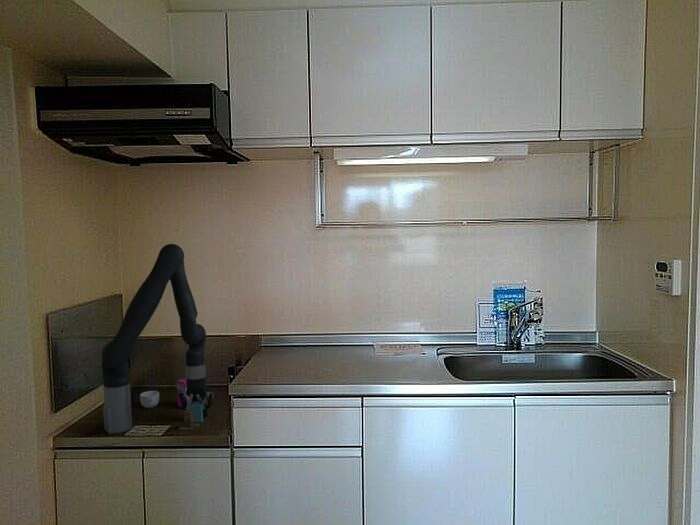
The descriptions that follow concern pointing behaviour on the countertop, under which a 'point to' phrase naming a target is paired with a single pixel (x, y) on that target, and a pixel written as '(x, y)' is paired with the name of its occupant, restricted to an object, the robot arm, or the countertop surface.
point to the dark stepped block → (188, 421)
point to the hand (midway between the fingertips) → (197, 417)
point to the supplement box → (181, 387)
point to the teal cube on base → (196, 411)
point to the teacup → (149, 399)
